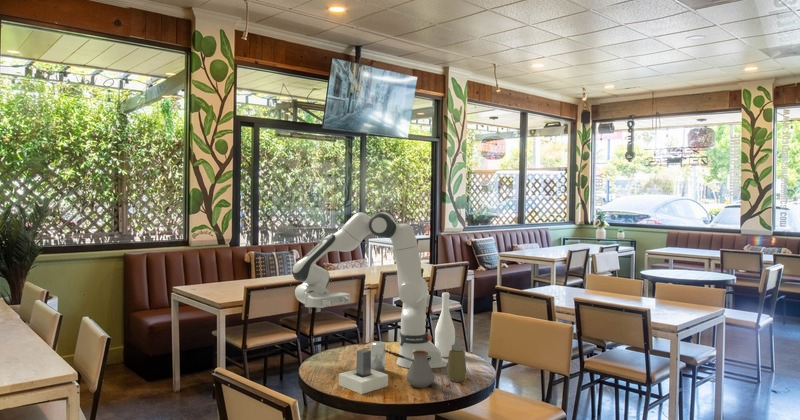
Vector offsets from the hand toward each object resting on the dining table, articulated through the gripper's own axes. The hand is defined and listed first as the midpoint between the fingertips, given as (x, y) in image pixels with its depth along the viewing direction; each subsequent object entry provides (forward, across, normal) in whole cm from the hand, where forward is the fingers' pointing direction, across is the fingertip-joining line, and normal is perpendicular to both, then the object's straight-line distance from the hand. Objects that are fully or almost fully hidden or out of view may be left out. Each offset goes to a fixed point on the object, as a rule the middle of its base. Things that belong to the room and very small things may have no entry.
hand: (339, 302), depth 242 cm
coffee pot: (+33, -10, -30) cm, 45 cm away
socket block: (+21, +4, -30) cm, 37 cm away
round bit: (+10, -13, -30) cm, 34 cm away
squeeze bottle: (+41, -29, -30) cm, 59 cm away
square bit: (+21, +4, -30) cm, 37 cm away
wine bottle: (+14, -53, -30) cm, 63 cm away
